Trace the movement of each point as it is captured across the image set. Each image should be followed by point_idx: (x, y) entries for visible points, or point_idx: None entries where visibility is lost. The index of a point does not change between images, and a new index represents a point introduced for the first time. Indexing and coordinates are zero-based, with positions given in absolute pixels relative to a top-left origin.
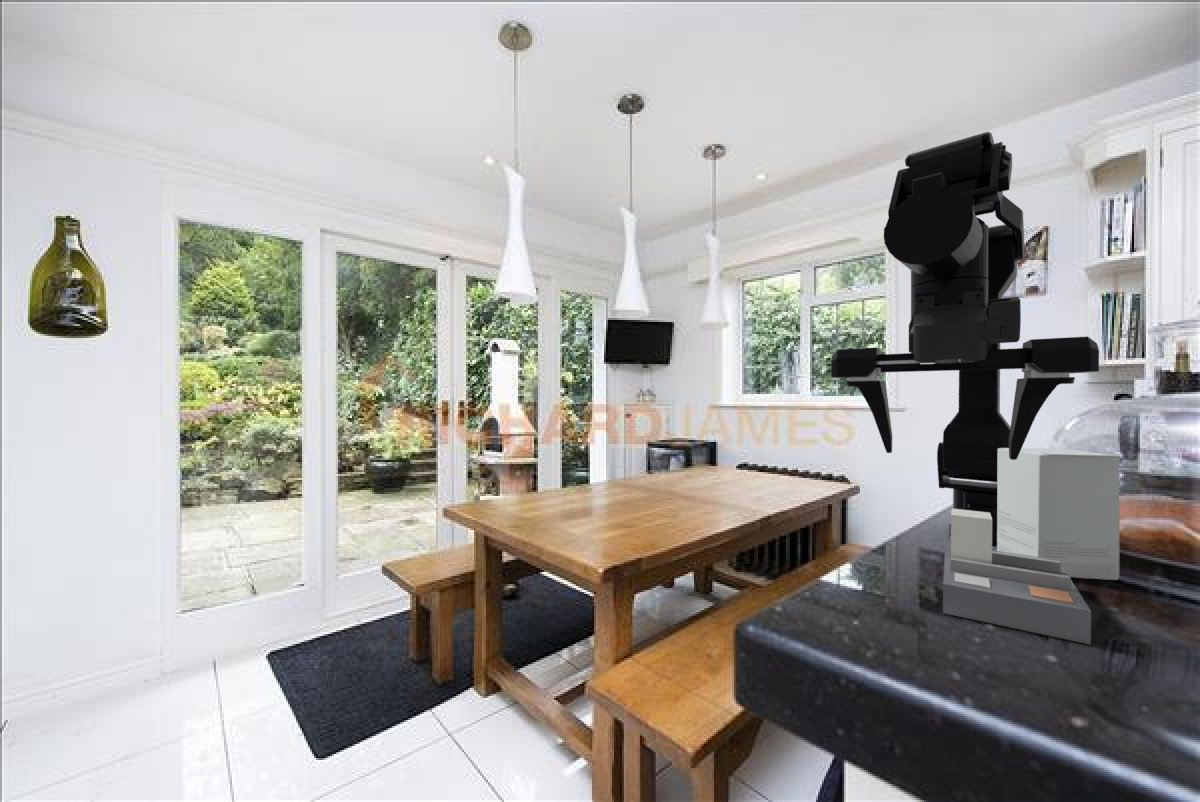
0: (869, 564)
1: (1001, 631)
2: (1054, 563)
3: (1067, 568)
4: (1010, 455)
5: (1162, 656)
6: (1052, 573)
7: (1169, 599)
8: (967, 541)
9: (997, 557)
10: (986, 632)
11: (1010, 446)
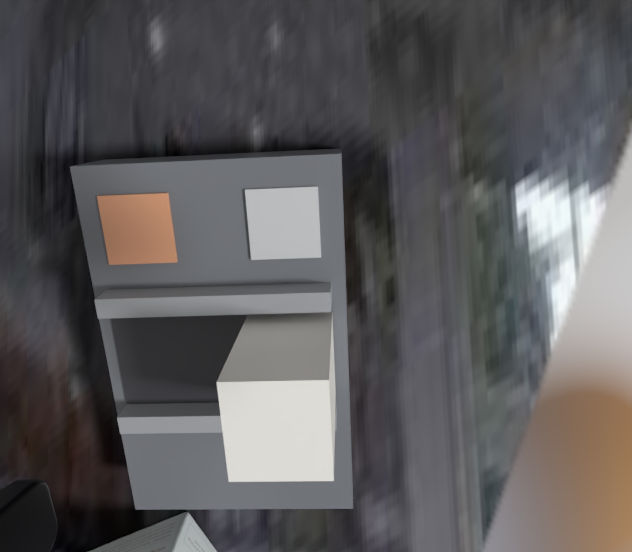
0: (510, 386)
1: (236, 121)
2: (129, 415)
3: (135, 540)
4: (37, 501)
5: (12, 185)
6: (126, 317)
7: None
8: (290, 342)
9: None
10: (260, 93)
11: (4, 544)
